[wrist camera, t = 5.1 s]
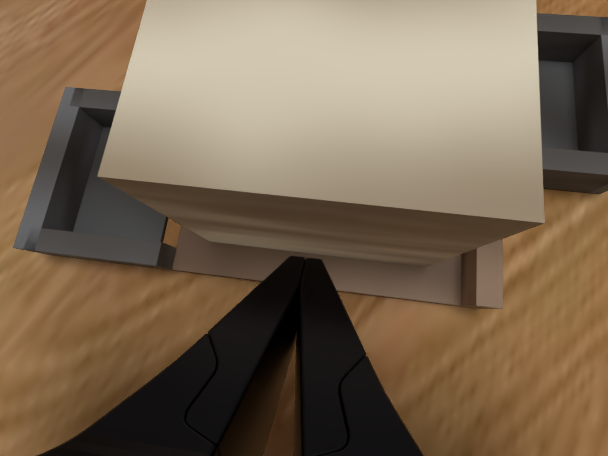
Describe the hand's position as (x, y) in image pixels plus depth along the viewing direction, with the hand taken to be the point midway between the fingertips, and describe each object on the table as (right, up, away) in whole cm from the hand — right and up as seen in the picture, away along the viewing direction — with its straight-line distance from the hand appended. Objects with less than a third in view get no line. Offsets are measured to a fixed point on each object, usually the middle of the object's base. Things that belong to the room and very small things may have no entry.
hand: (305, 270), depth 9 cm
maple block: (+1, +7, +8) cm, 11 cm away
